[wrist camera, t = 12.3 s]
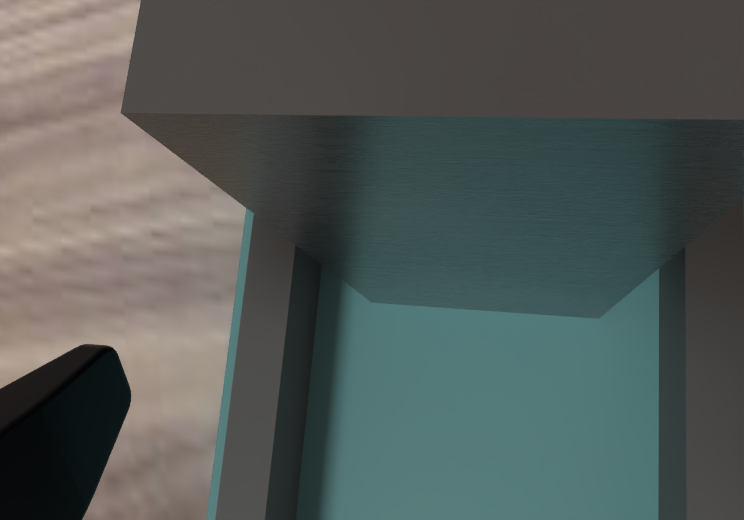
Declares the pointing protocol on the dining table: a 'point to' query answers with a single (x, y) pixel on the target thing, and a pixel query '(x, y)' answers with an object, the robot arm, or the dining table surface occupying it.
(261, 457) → the dock plate
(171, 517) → the dining table surface
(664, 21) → the lock block
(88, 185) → the dining table surface
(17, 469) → the robot arm
